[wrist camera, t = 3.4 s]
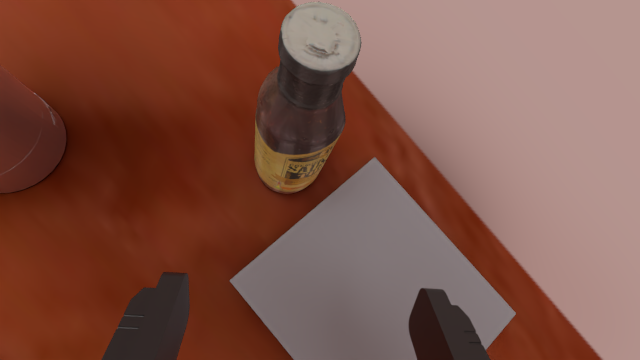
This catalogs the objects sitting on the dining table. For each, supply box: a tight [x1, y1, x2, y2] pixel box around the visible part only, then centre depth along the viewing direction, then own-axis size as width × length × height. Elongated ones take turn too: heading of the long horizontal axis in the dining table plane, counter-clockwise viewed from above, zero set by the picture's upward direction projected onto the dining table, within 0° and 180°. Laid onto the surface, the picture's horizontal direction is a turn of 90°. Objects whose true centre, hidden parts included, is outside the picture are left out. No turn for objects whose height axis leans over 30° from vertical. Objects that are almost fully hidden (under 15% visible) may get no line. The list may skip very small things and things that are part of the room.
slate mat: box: [229, 157, 516, 360], centre depth 34 cm, size 18×20×1 cm
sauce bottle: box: [254, 2, 361, 194], centre depth 27 cm, size 7×6×20 cm
